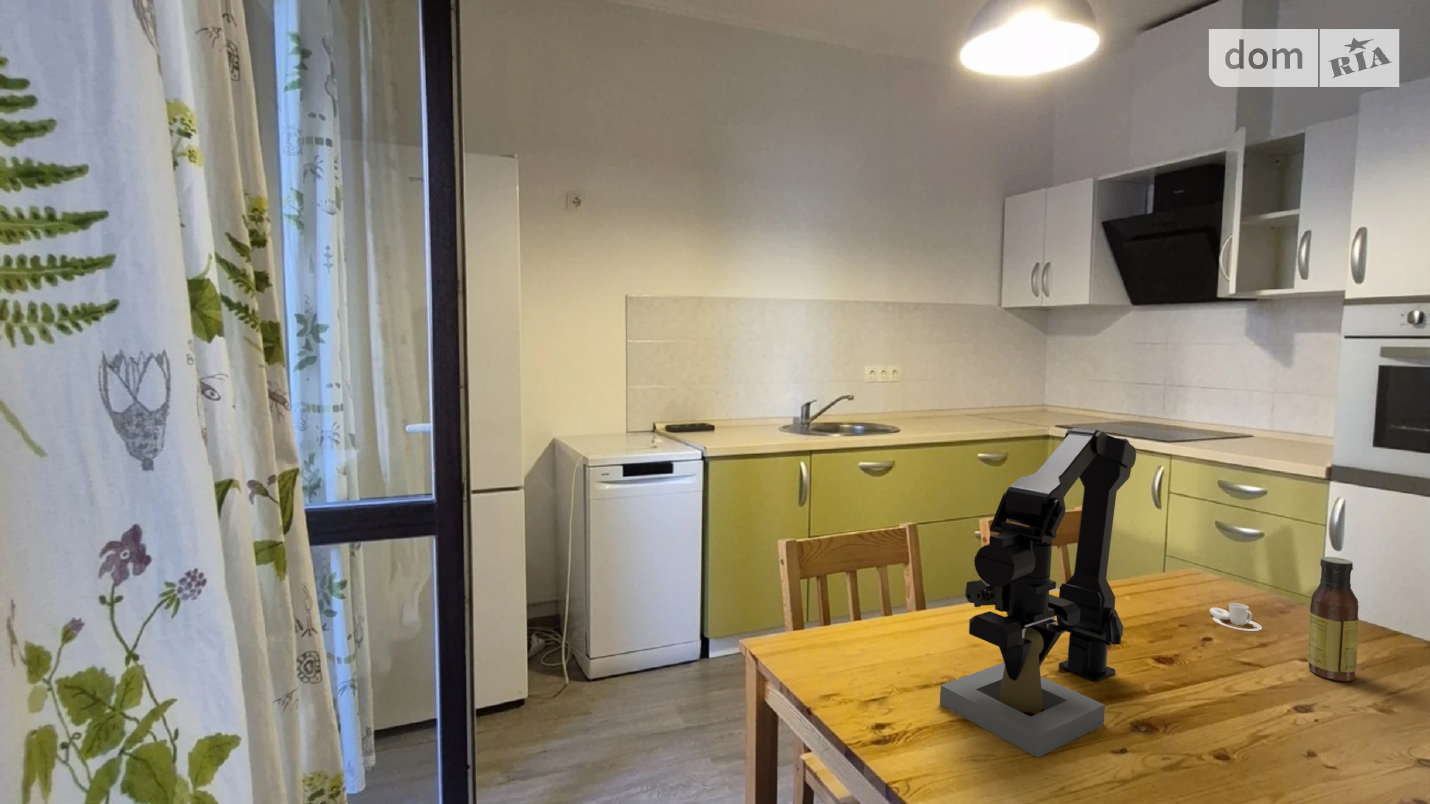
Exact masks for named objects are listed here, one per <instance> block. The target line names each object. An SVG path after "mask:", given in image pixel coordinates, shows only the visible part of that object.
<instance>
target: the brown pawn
mask: <svg viewBox="0 0 1430 804" xmlns="http://www.w3.org/2000/svg"><path fill="white" fill-rule="evenodd" d="M1024 638H1025V639H1027V640H1030V641H1032V644H1031V646H1030V649H1029V652H1028V654H1027V657H1026V659H1025V662H1024V665H1023V667H1022V670H1021V672H1020V675H1019V676H1018V678H1017V680H1016V681H1014V680H1012V679H1010V678H1009V677H1008V673H1007V670H1006V667H1005V668H1004V673H1003V678H1002V683H1001V687H1000V692H999V699H998V701H1000V702H1002V703H1004V704H1006V705H1008V706H1010V707H1012V708H1014V709H1016V710H1018V711H1020V712H1022V713H1037V712H1038V713H1039V712H1041V711H1042V708H1043V701H1042V688H1041V677H1042V676H1041V666H1040V664H1039V654H1040V653H1041V652H1042V650H1043V647H1044V642H1043V637H1042V635H1041V634H1040V633H1039V632H1038V631H1036V630H1035V629H1032V628H1029V627H1026V630H1025V636H1024Z"/></svg>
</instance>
